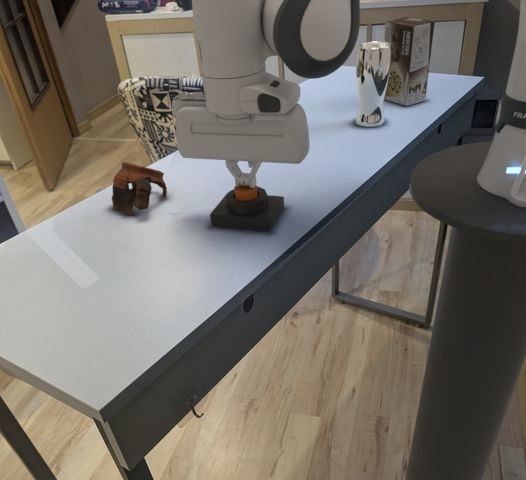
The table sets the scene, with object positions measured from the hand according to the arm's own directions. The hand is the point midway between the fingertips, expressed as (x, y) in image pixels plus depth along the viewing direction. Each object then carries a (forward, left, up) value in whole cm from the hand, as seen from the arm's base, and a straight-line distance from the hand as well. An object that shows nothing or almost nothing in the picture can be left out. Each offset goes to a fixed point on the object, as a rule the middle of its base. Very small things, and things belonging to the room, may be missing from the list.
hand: (246, 186), depth 82 cm
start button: (0, 0, -2) cm, 2 cm away
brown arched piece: (+21, -1, -6) cm, 21 cm away
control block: (0, 0, -5) cm, 5 cm away
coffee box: (-17, -62, -6) cm, 65 cm away
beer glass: (-12, -46, -6) cm, 48 cm away
